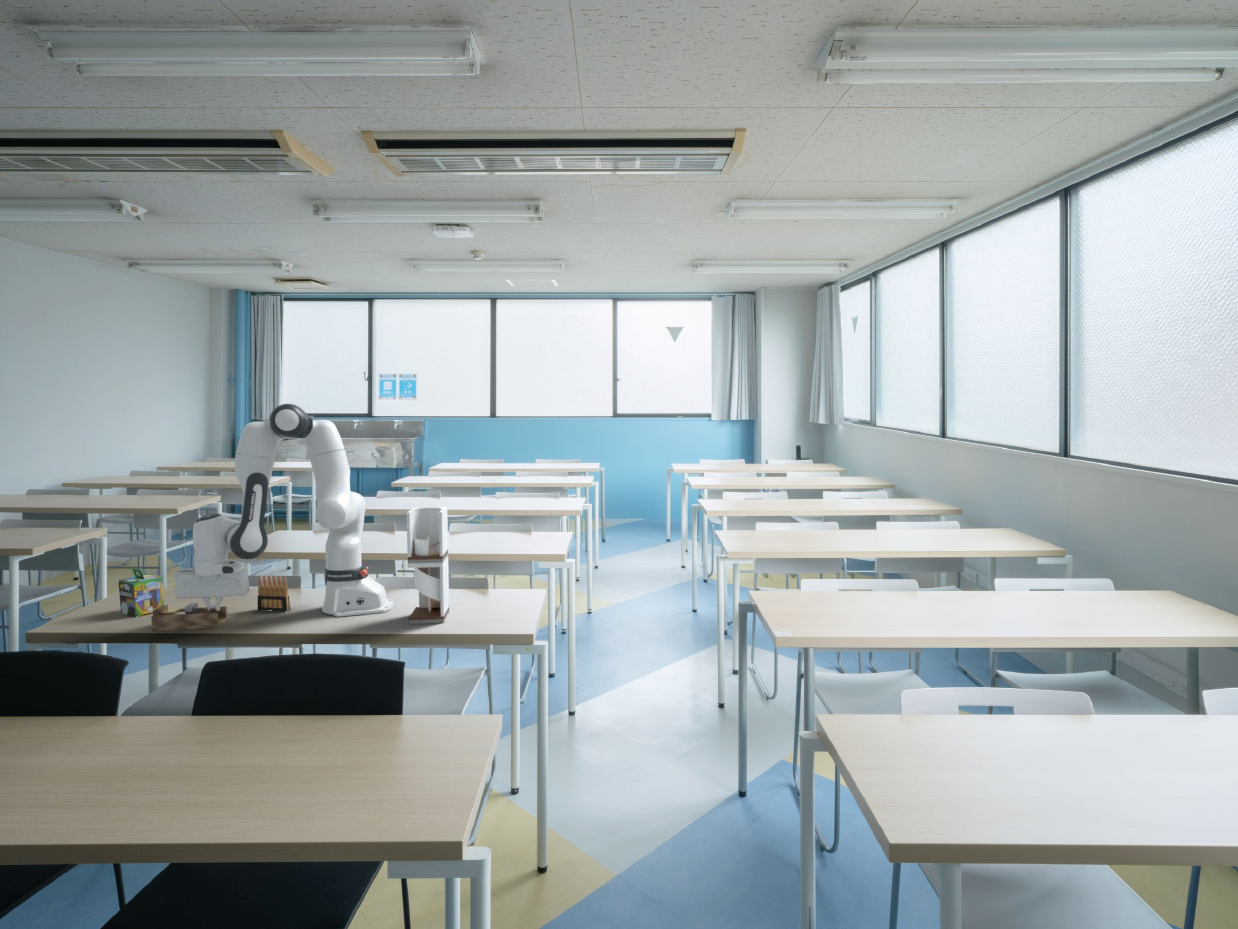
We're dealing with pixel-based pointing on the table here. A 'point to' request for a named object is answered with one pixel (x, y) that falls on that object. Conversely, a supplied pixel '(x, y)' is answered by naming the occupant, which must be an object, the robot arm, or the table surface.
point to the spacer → (170, 611)
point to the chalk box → (140, 594)
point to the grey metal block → (190, 609)
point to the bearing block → (188, 619)
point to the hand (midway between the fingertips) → (213, 610)
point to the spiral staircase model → (429, 562)
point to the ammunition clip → (273, 594)
